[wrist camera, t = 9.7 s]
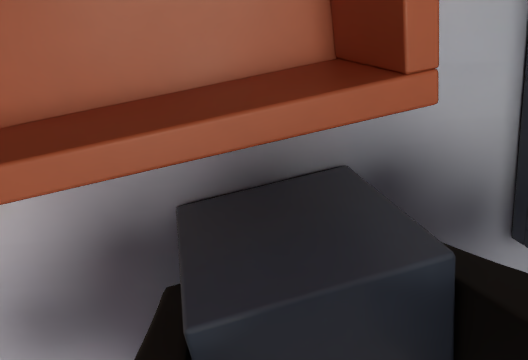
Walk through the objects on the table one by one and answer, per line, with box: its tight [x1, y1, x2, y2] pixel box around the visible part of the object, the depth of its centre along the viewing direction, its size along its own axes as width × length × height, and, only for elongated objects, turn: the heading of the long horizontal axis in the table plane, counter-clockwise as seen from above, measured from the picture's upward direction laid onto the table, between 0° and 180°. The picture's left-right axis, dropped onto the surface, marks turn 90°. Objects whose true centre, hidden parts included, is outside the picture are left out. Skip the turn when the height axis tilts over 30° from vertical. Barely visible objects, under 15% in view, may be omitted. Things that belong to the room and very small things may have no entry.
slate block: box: [176, 166, 455, 360], centre depth 9 cm, size 4×4×4 cm
